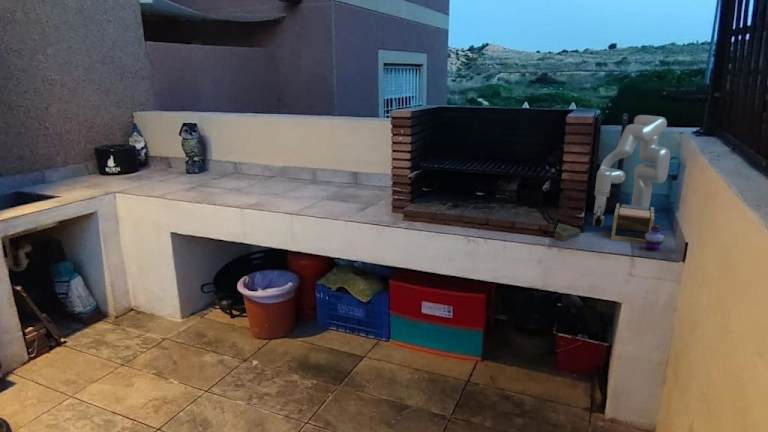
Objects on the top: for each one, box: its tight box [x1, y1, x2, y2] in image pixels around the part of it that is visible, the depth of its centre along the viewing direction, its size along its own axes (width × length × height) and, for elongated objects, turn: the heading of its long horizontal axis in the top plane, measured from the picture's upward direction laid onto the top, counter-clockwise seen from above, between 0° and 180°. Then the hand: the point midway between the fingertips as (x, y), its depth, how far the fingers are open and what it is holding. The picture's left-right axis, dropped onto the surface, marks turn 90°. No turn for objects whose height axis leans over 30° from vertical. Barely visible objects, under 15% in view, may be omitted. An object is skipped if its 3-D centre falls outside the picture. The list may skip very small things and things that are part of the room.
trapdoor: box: [619, 203, 650, 219], centre depth 260 cm, size 18×14×4 cm
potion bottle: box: [644, 224, 665, 252], centre depth 242 cm, size 9×9×12 cm
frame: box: [610, 203, 655, 245], centre depth 261 cm, size 25×18×14 cm
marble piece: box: [553, 222, 581, 242], centre depth 264 cm, size 17×15×4 cm
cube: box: [592, 214, 605, 228], centre depth 280 cm, size 5×5×5 cm
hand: (598, 223), depth 280 cm, fingers closed on cube, 5 cm apart
